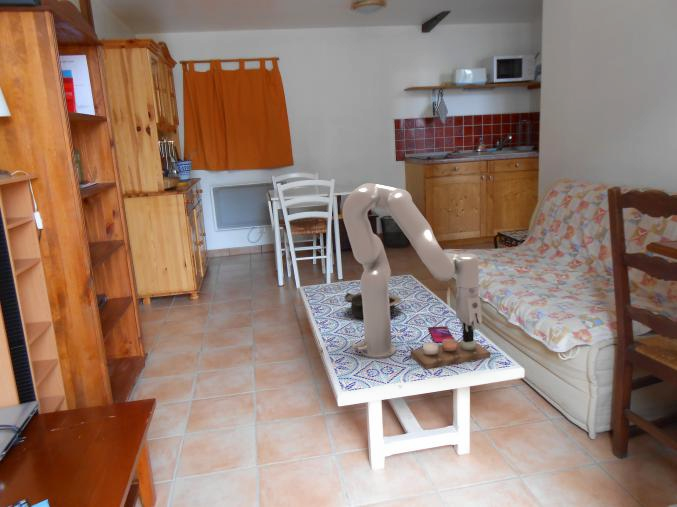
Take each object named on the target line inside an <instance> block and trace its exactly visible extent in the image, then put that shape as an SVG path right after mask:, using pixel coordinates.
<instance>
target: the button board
mask: <svg viewBox="0 0 677 507" xmlns="http://www.w3.org/2000/svg"><path fill="white" fill-rule="evenodd" d="M410 357H411V358H412V359H413V360H414V361H415V362H416V363H417V364H418V365H419V366H421V368H423V370H425V371H427V370H431V369H432V370H433V369H437V368H441V367H446V366H447V367H448V366H453V365H457V364H463V363H467V362H469V363H470V362H474V361H479V360H485V359H490V358H491V352H490V350H488V349H487V348H485V347H484V346H482V345H480V344H479V343H478V342H476V341H475V349H474V350H463V349H461V342H460V341H457V349H456V350H454V351H446V350H443V349H442V344H440V345H439V344H438V353H437V354H432V355H430V354H425V353H424V352H423V347H422V348H418V349H417V348H416V349H411V350H410Z"/></svg>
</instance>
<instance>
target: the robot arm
mask: <svg viewBox="0 0 677 507" xmlns="http://www.w3.org/2000/svg"><path fill="white" fill-rule="evenodd" d="M371 209H378V210H383V211H388V213H389V215H390V216H391V218H392V219H393V220H394V222H395V223H396V225H398V227H399V228H400V229H401V231H402V233H403V234H404V235H405V236H406V238H407V239H408V240H409V242H410V244H411V246H412V247H413V249H414V250H415V252H416V254H417V255H418V257H419V259H420V260H421V261H422V263H423V265H424V266H425V267H426V268H427V269H428V271H429V272H430V273H431V275H432V276H433V277H434V278H435V279H436V280H438V281H441V282H448V281H450V280H451V279H452V278H453V277H454V276H455V295H456V296H455V297H456V298H455V315H456V318H457V319H458V320H459V322H460V323H461V329H462V339H463V341H465V342H471V341H473V340H475V339H474V331H475V330H477V329H478V325H481V324H482V320H483V318H482V304H481V299H480V284H479V282H480V280H479V278H480V276H479V273H480V270H479V265H480V264H479V256H478V255H476V254H474V253H461V254H458V253H450V252H449V253H448V252H445V251H444V250H443V249H442V247H441V246H440V244H439V242H438V241H437V238H436V237H435V235H434V232H433V229H432V227H431V224H430V223H429V222H428V221H427V219H426V218H425V217H424V215H423V214H422V213H421V211H420V210H419V208H418V207H417V206H416V204H415V203H414V201H413V198H412V195H411V194H410V192H409V191H408V190H405V189H402V188H398V187H392V186H388V185H382V184H377V183H373V182H369V183H368V182H367V183H366V182H365V183H364V184H361V185H359V186H358V187H356V188H355V189H354V190H352V191H351V193H349V195H348V196H346V199H345V200H344V202H343V205H342V214H341V215H342V219H343V223H344V226H345V229H346V232H347V233H346V234H347V237H348V240H349V244H350V247H351V250H352V254H353V257H354V259H355V261H357V263H359V264H361V265H362V268H363V272H362V274H361V278H360V282H359V283H360V284H359V285H360V293H361V294H362V303H363V331H364V338H363V339H361V340H362V341H361V342H359V343H353V344H351V348H352V350H357V351H358V352H360V351H361V354H362V355H363V356H364V357H365V358H371V359H385V358H389V357H391V356H393V355H395V354H396V352H397V347H396V345H394V344H393V343H392V328H391V327H392V326H391V313H390V303H389V295H390V292H389V284H390V279H391V275H392V270H391V267H390V263H389V260H388V257H387V254H386V253H387V252H386V251H385V247H384V244H383V242H382V240H381V238H380V237H379V236H378V235H377V234H375V233H374V232H373V229H372V225H371V222H370V220H369V217H368V214H369V213H368V212H369V211H370V210H371Z"/></svg>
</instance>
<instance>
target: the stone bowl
mask: <svg viewBox="0 0 677 507" xmlns="http://www.w3.org/2000/svg"><path fill="white" fill-rule="evenodd" d="M402 301H403V300H402V299H401V298H400V297H399V296H396V295H394V294H389V303H390V314H392V312H393V311H394V309H395V305H397V304H400V303H401V302H402ZM343 302H346V303H347V302H348V303H351V306H350V309H351V310H350V311H351V314H352V315H353V316H354V317H355V318H359V319H360V318H363V319H364V317H363V303H362V294H361V292H358V293H351V292H350V293H349V292H348V293H346V294H345V296H344V300H343Z"/></svg>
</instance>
